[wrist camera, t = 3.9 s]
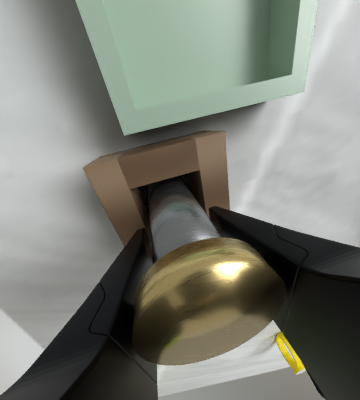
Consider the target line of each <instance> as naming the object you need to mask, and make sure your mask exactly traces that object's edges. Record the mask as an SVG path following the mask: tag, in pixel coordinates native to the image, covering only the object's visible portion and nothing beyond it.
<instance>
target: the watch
mask: <svg viewBox="0 0 360 400" xmlns="http://www.w3.org/2000/svg"><path fill="white" fill-rule="evenodd" d="M282 340H283V341H282ZM276 342H277V345H278V347H279V349H280V351H281V353H282V355H283V356H284V358H285V359H286V361H287V362H288V364H289V365H290V366H291V367H292V369H293V371H294V373H295V374H296V375H297V374H300V373H302V372H304V371H306V369H305V367H304V365H303V364H302V362H301V360H300V359H299V357H298V356H297V354H296V353H295V351H294V350H293V348H292V347H291V345H290V344H289V342H288V341H287V339H286V338H285V337H284V335H283V333H282V332H280V333H277V336H276ZM283 342H284V343H285V344H286V346H287V347H288V349H289V351H290V352H291V354H292V356H293V358H294V360H295V361H294V360H293V359H292V357H291V356H290V354H289V353H288V351H287V349H286V347H285V346H284V344H283Z"/></svg>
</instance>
